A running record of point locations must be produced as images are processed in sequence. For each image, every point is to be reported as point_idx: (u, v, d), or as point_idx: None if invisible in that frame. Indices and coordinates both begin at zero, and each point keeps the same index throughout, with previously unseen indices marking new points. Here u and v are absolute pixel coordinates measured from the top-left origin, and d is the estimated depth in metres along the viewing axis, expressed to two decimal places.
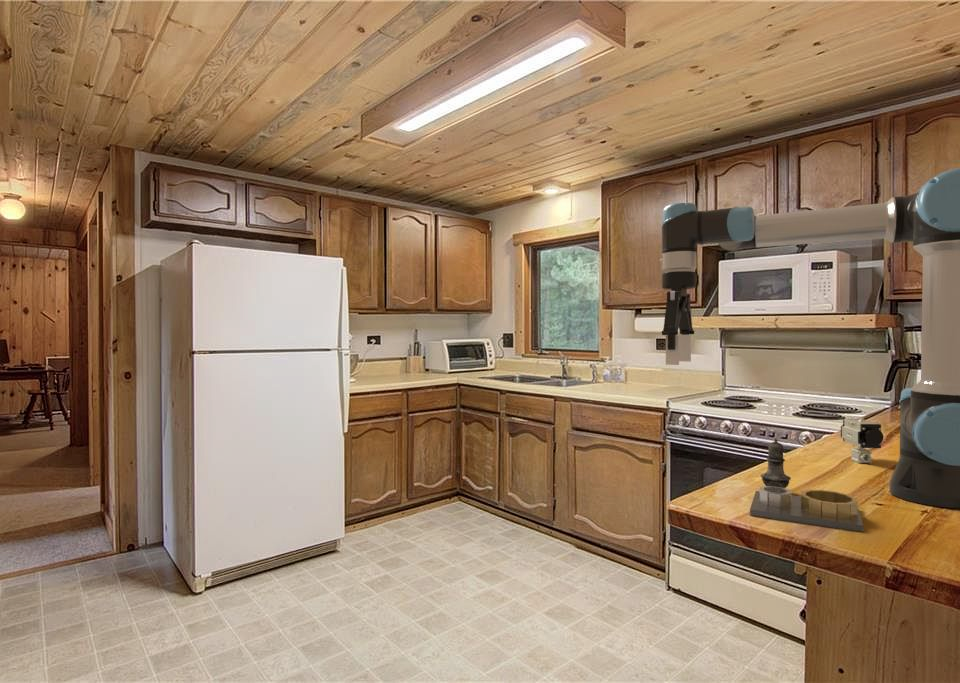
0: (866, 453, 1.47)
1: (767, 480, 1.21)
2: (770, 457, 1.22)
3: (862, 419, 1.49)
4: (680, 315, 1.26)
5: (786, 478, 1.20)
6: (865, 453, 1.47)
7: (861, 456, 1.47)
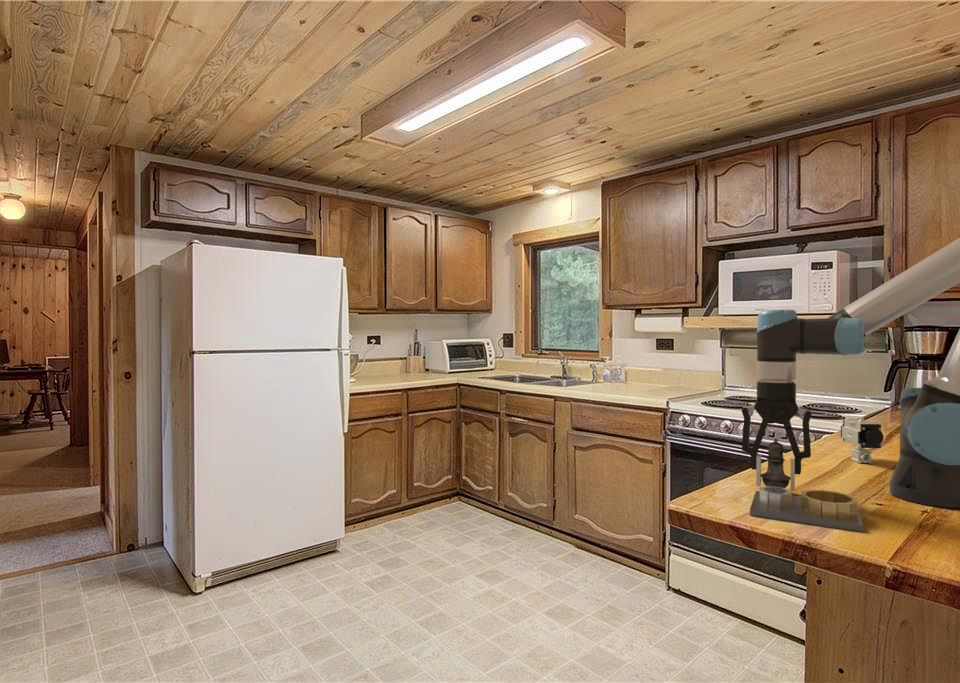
0: (866, 453, 1.47)
1: (767, 480, 1.21)
2: (770, 457, 1.22)
3: (862, 419, 1.49)
4: (762, 431, 1.22)
5: (786, 478, 1.20)
6: (865, 453, 1.47)
7: (861, 456, 1.47)
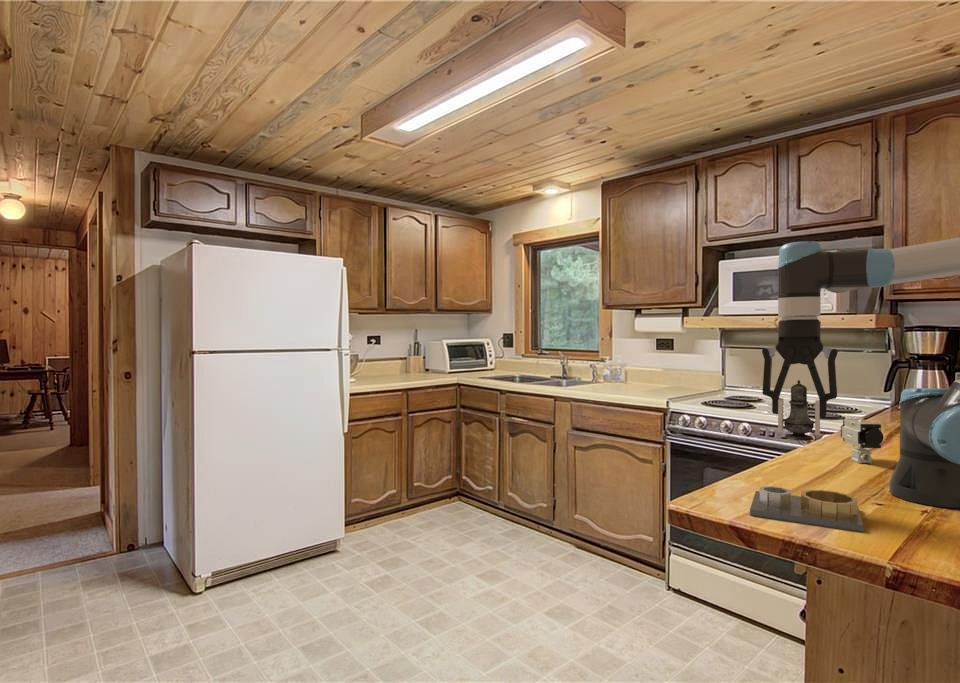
0: (866, 453, 1.47)
1: (789, 424, 1.14)
2: (793, 400, 1.15)
3: (862, 419, 1.49)
4: (784, 373, 1.15)
5: (810, 421, 1.13)
6: (865, 453, 1.47)
7: (861, 456, 1.47)
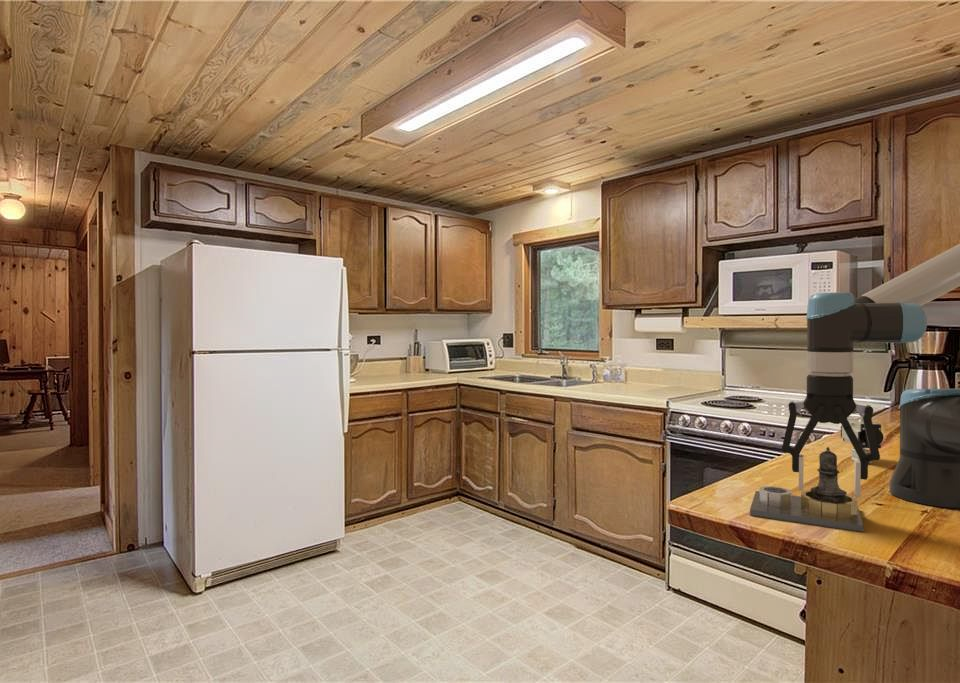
0: None
1: (819, 495, 1.06)
2: (822, 469, 1.07)
3: (862, 419, 1.49)
4: (810, 430, 1.07)
5: (842, 493, 1.05)
6: (865, 453, 1.47)
7: None
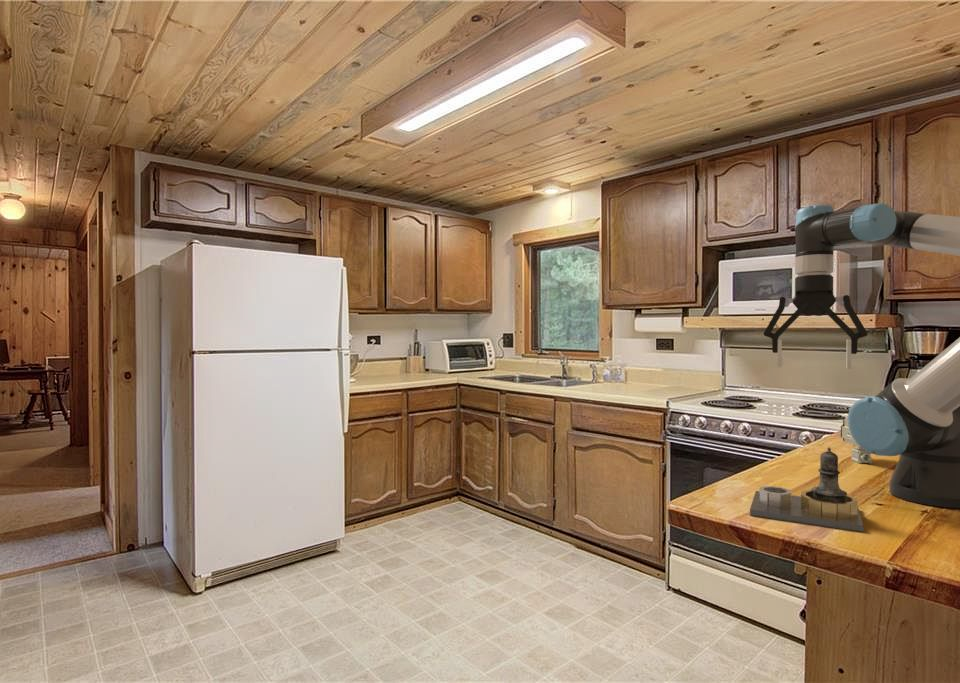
0: (866, 453, 1.47)
1: (820, 495, 1.06)
2: (823, 469, 1.07)
3: None
4: (792, 320, 1.29)
5: (842, 493, 1.05)
6: (865, 453, 1.47)
7: (861, 456, 1.47)
